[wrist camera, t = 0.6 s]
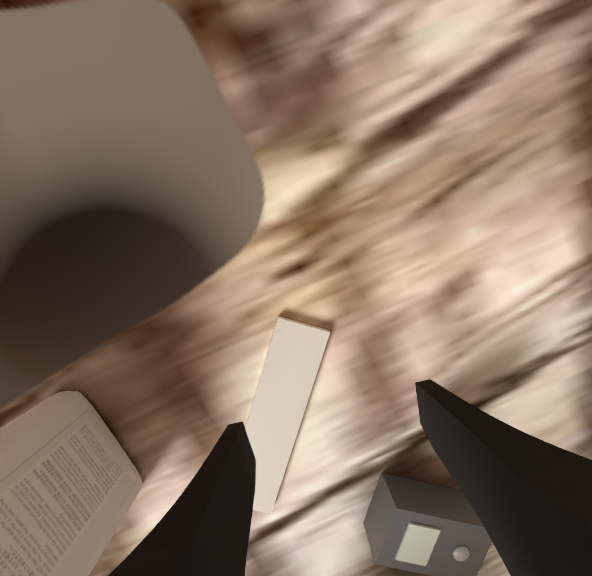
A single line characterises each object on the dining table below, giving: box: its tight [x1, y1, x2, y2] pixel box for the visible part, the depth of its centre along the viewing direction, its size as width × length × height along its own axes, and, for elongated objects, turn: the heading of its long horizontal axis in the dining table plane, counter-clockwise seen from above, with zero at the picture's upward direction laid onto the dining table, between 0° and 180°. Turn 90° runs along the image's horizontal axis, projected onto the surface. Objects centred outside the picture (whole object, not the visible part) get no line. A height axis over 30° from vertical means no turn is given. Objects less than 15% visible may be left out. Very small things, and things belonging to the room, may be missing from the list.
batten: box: [245, 316, 330, 514], centre depth 22 cm, size 16×4×1 cm, turn 164°
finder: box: [363, 473, 492, 576], centre depth 23 cm, size 5×8×4 cm, turn 74°
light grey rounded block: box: [0, 391, 142, 576], centre depth 16 cm, size 10×4×12 cm, turn 28°
